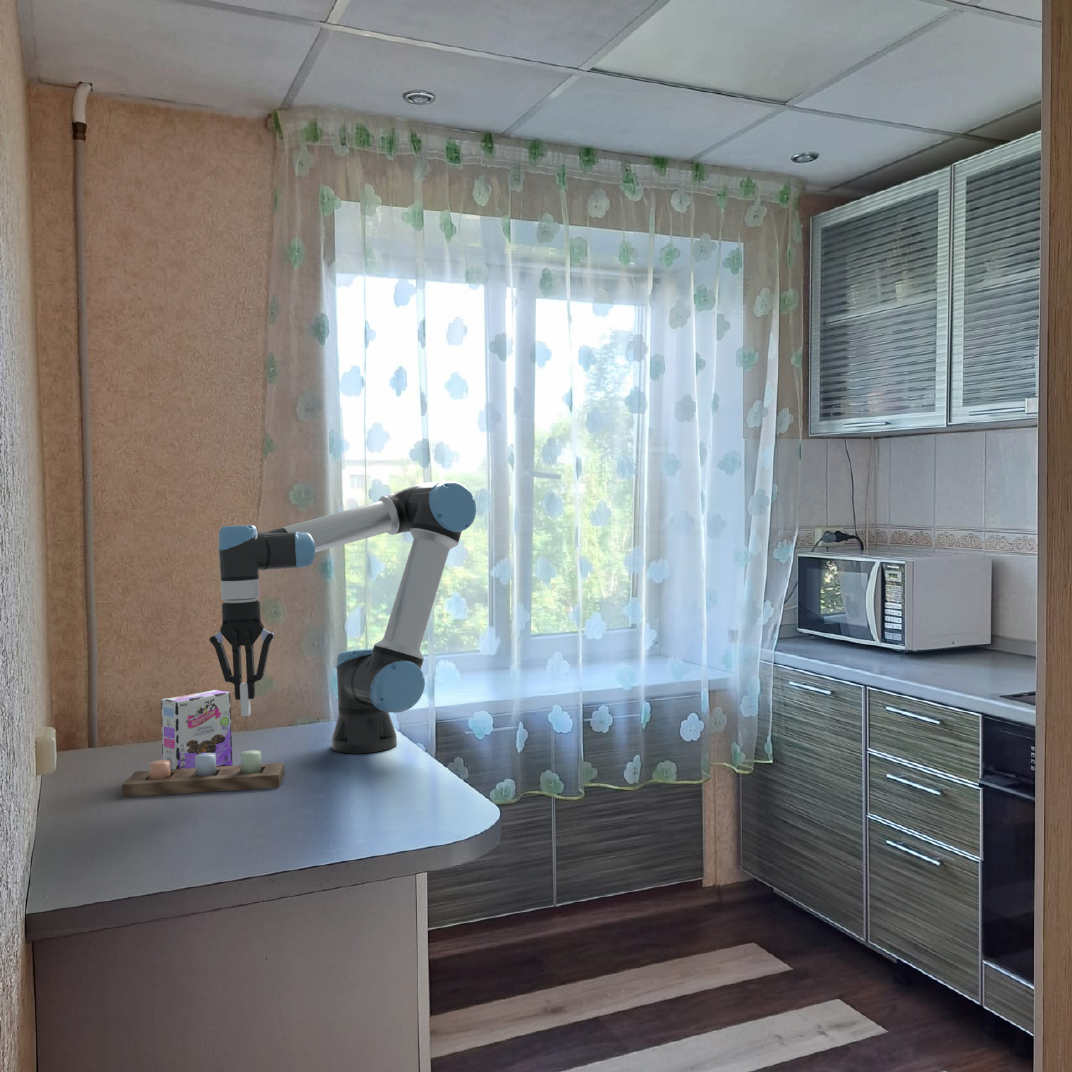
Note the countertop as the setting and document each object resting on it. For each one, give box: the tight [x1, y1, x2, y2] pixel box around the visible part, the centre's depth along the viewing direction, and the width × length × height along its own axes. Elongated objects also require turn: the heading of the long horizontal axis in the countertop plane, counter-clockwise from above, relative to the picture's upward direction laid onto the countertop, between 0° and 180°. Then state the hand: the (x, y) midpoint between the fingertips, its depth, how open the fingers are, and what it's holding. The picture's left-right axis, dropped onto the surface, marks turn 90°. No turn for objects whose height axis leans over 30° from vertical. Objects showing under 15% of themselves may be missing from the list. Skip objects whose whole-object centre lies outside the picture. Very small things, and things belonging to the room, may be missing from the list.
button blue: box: [195, 753, 216, 777], centre depth 199 cm, size 4×4×4 cm
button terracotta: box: [148, 759, 171, 780], centre depth 198 cm, size 4×4×4 cm
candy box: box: [160, 689, 233, 769], centre depth 212 cm, size 14×6×16 cm, turn 143°
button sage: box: [240, 749, 262, 774], centre depth 200 cm, size 4×4×4 cm
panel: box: [121, 762, 286, 798], centre depth 199 cm, size 30×10×2 cm, turn 98°
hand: (246, 714), depth 200 cm, fingers closed
